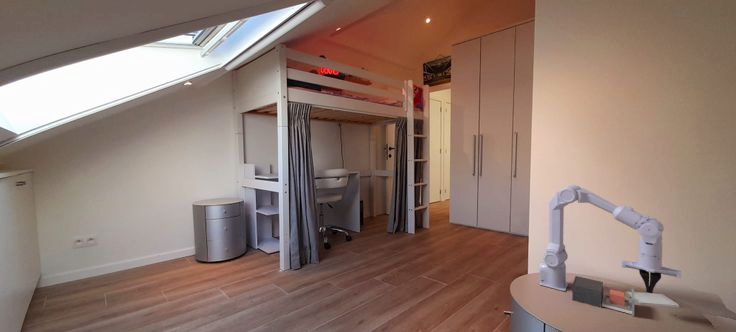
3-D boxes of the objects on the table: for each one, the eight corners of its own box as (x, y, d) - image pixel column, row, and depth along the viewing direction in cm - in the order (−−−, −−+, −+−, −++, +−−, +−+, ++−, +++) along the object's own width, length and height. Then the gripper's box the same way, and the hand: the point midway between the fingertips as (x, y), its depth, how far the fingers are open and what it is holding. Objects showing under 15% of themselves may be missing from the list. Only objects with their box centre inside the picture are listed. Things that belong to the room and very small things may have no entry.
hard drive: (638, 302, 106) (679, 304, 103) (624, 290, 114) (661, 293, 111) (638, 306, 106) (679, 309, 103) (624, 294, 114) (661, 297, 111)
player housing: (572, 299, 110) (572, 284, 110) (575, 290, 117) (575, 275, 117) (601, 307, 104) (601, 291, 104) (602, 297, 111) (602, 282, 111)
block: (624, 307, 102) (624, 297, 102) (609, 303, 105) (609, 293, 105) (624, 302, 105) (624, 292, 105) (610, 299, 108) (610, 289, 108)
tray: (601, 307, 104) (602, 291, 104) (603, 296, 111) (603, 282, 111) (634, 316, 98) (634, 299, 98) (633, 304, 105) (633, 288, 105)
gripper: (622, 252, 100) (621, 289, 101) (683, 262, 90) (681, 303, 91) (622, 247, 105) (621, 282, 106) (679, 256, 95) (678, 294, 96)
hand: (649, 291), depth 99 cm, fingers closed
